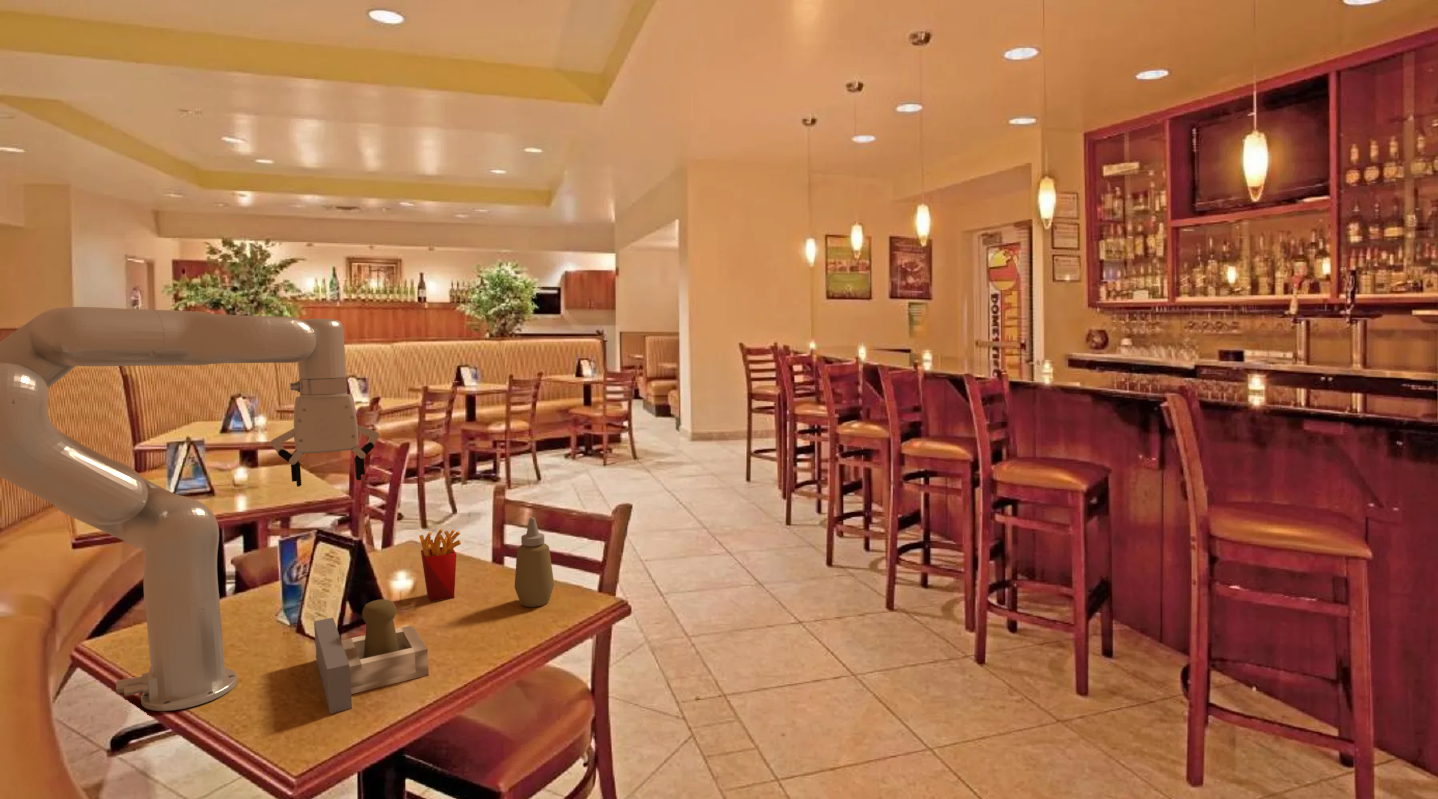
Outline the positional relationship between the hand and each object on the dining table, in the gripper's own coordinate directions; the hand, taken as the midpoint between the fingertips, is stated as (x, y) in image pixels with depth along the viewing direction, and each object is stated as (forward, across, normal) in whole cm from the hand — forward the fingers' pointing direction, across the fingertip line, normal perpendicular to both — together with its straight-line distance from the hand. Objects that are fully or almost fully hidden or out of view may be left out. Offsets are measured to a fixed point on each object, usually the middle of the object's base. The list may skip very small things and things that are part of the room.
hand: (329, 482), depth 137 cm
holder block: (+30, +6, -18) cm, 35 cm away
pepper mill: (+29, +5, -17) cm, 34 cm away
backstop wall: (+30, -2, -18) cm, 35 cm away
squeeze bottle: (+30, +37, 0) cm, 47 cm away
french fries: (+30, +21, +13) cm, 39 cm away
